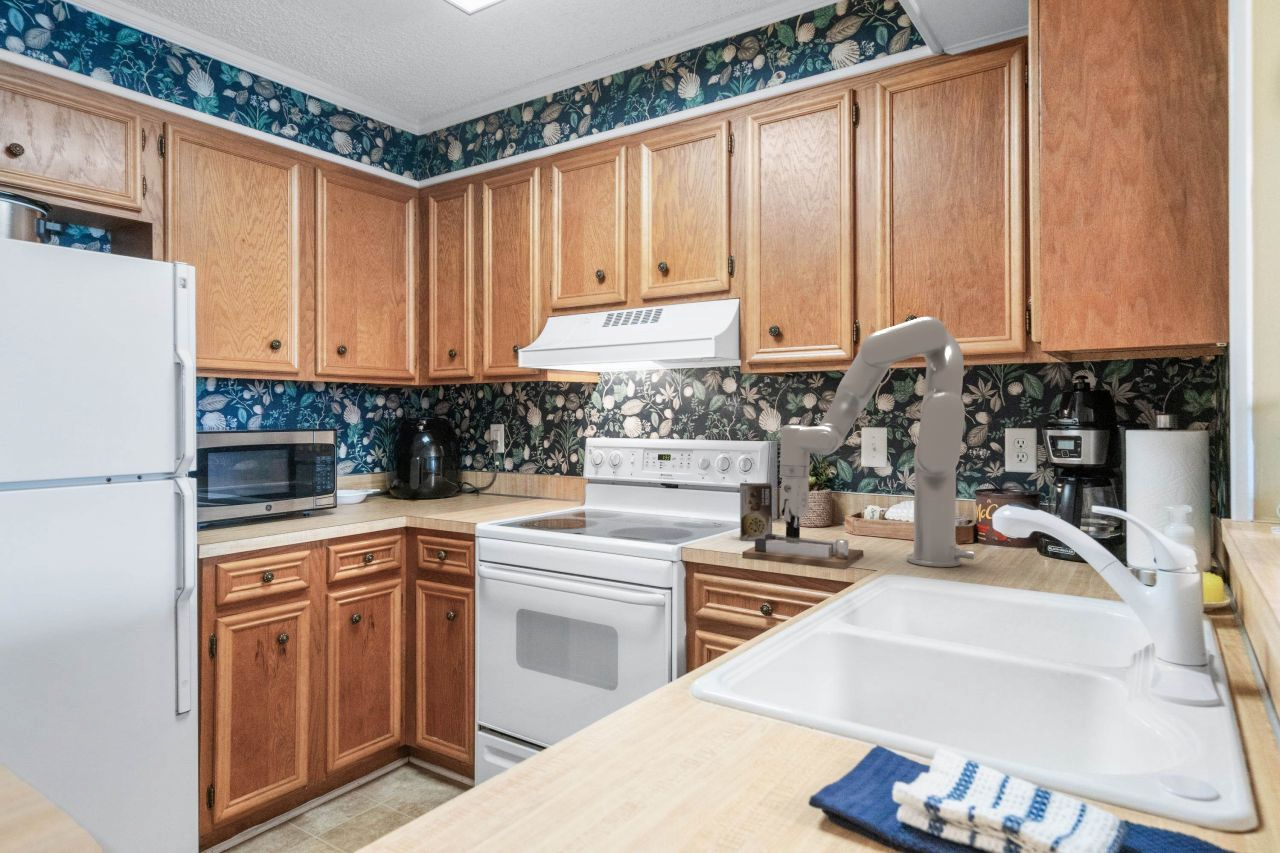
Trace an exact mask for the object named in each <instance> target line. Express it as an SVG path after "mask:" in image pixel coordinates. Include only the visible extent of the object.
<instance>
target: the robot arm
mask: <svg viewBox="0 0 1280 853" xmlns="http://www.w3.org/2000/svg"><path fill="white" fill-rule="evenodd" d="M920 355H921V356H922V357H923V358H924V361H925V364H926V369H925V370H926V371H925V382H924V383H925V384H924V391H923V397H922V402H921V405H920V423H919V431H918V440H917V444H916V445H915V447H914V448H915V449H914V452H913V453H914V456H913V463H914V466H913V468H914V469H913V470H914V471H913V472H914V491H913V492H914V499H913V500H914V501H913V553H909V554H907V556H906V560H907V562H909V563H912V564H914V565H920V566H924V567H925V566H926V567H934V568H936V567H937V568H951V567H953V568H954V567H958V566H961V565H962V559H967V560H975V551H973V550H969V549H960V548H958V546H959V544H958V543H956V501H957V474H956V473H957V471H956V467H957V466H958V464H959V460H960V456H961V450H962V443H963V442H962V441H963V433H964V425H965V418H966V417H965V416H966V414H965V413H966V409H965V404H964V402H963V400H962V391H963V384H964V382H963V379H964V366H965V365H964V363H965V361H964V355H963V351H962V349H961V346H960V345H959V343H958V341H957V340H956V338H955V337H954V336H953V335H952V334H951V333H950V332H949V331H947V328H946V326H945V323H944V322H943V321H941V320H940V319H939V318H937V317H935V316H930V315H929V316H928V315H927V316H922V317H921V316H920V317H917V318H915V319H912V320H909V321H906V322H905V321H904V322H902V323H899V324H897V325H893V326H890V327H887V328H884V329H881V330H878V331H877V330H876V331H874V332H871V333H870V334H868V335H867V336H866V337H865V338H864V339H863V341H862V343H861V346H860V349H859V351H858V352H857V355H856V356H855V358H854V359H853V362H852V363H850V364H851V365H850V366H849V367H848V369H847V371H846V373H845V374H844V376H843V377H842V378H841V381H840V382H839V385H838V386H837V389H836V393H835V395H834V398H833V400H832V402H831V404H830V406H829V408H828V409H827V412H826V413H825V414H824V416H823V418H822V419H821V421H820V423H819V424H818V425H816V426H808V425H804V424H786V425H784V426H783V425H782V427H781V430H780V458H779V459H780V461H779V463H780V464H779V478H781V483H780V484H781V485H780V492H779V493H780V495H779V513H780V515H781V516H783V521H784V522H785V536H792V537H800V536H801V535H800V534H801V532H800V531H801V530H800V529H801V528H800V527H801V520H802V517H803V516H805V515H808V513H809V512H810V489H809V478H810V464H811V463H810V461H811V460H810V458H811V457H810V456H811V453H812V454H816V455H817V454H818V455H822V456H823V455H825V456H826V455H830V454H833V453H834V452H836V451H837V449H839V447H840V446H841V445H842V443H843V442H844V439H845V438H846V437H847V435H848V433H849V432H850V429H851V428H852V427H853V425H854V423H855V422H856V421H857V419H858V417H859V415H860V414H861V412H862V411H864V409H865V408H866V407H867V405H868V403H869V402H870V400H871V398H872V397H873V395H874V394H875V393H876V390H877V389H878V387H879V385H880V384H881V382H882V380H883V379H884V377H885V375H886V374H887V373H888V371H889V369H890V368H891V366H892V365H893V363H897V362H900V361H905V360H908V359H910V358H913V357H916V356H920ZM961 558H962V559H961Z"/></svg>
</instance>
